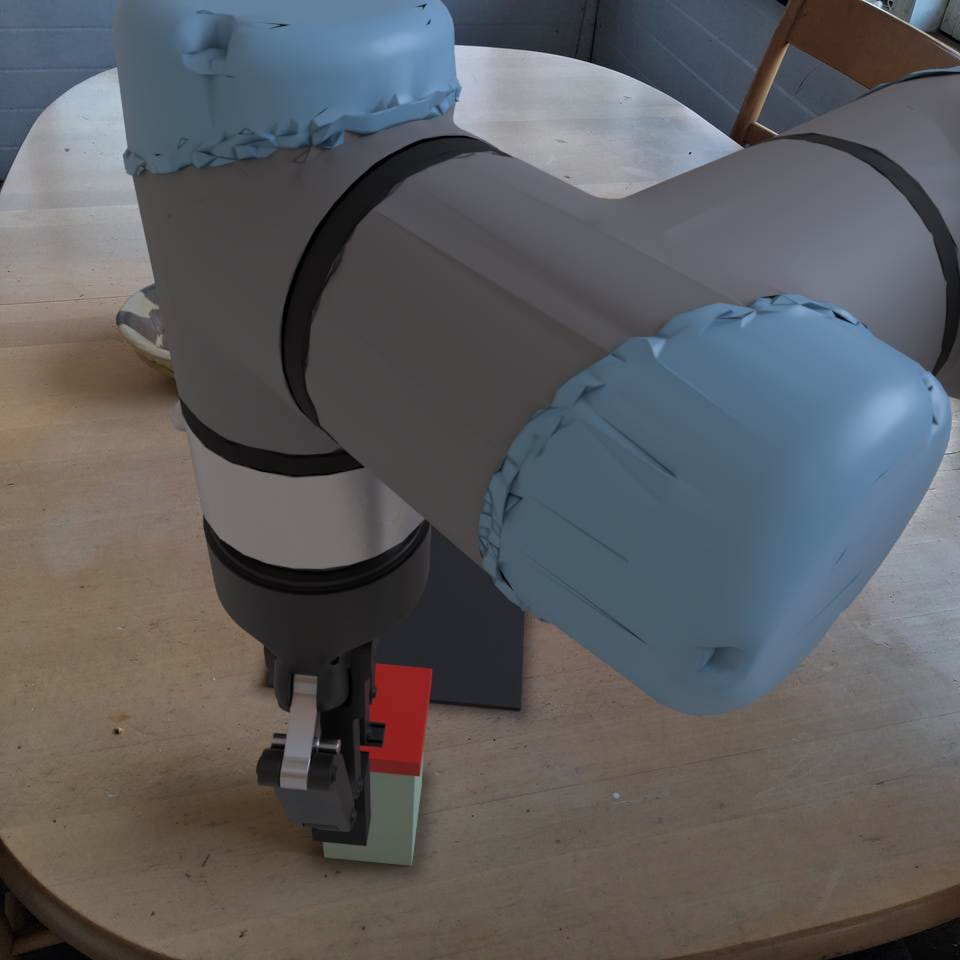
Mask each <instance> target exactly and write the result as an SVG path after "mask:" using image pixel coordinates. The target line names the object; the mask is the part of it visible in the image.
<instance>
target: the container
mask: <svg viewBox="0 0 960 960" xmlns="http://www.w3.org/2000/svg"><path fill="white" fill-rule="evenodd" d="M431 683H432V669H429V668H418V667H407V666H397V665H386V664H376V672H375V685H376V687H377V695H376V698H374V699H373V703H372V705H369V709H370V722H380V723H386V728H385V737H384V744H383V748H379V747H369V746H360V751H368V752H369V755H370V798H371V821H370V827H369V833H368V839H367V846H359V845H348V844H338V843H328V842H322V848H323V857H324V859H325V858H327V859H335V860H336V859H337V860H345V861H346V860H347V861H359V862H365V863H366V862H367V863H379V864H388V865H389V864H390V865H399V866H409V867H411V866H413V860H414V852H415V844H416V836H417V835H416V834H417V827H418V819H419V811H420V805H421V804H420V802H421V794H422V786H423V770H424V750H425V749H424V748H425V739H426V731H427V723H428V714H429V709H430V708H429V706H430V702H429V700H430V692H431Z"/></svg>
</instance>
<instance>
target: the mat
mask: <svg viewBox="0 0 960 960" xmlns="http://www.w3.org/2000/svg"><path fill="white" fill-rule="evenodd" d="M525 612H526V611H522V610H521V608H520V607H519V606H518V605H516V604H515V603H513V602H511V601H510V600H509V599H508V598H507V597H506V596H505V595H504V594H503V593H502V592H501V591H500V590H499V589H498V588H497V587H496V586H495V585H494V583H493V579H492V577H491V576H490V575H489V574H488V573H487V572H486V571H485V570H483V569H482V568H481V567H480V566H479V565H478V564H476V563H475V562H474V561H473V560H472V559H471V558H470V557H468V556H467V555H466V554H465V553H464V552H463V551H461V550H460V549H459V548H458V547H457V546H456V545H454V544H453V543H452V542H451V541H450V540H449V539H448V538H446V537H445V536H444V535H443V534H442V533H441V532H439V531H438V530H437V529H436V528H435V527H434V526H433V525H431V545H430V566H429V575H428V580H427V583H426V586H425V589H424V591H423V594H422V596H421V598H420V599H419V601H418V603H417V604H416V605H415V607H414V608H413V610H412V611H411V612H410V613H409V614H408V616H407V617H406V618H405V619H404V620H403V621H401V622H400V623H399V624H398V625H397V626H395V627H394V628H393V629H391V630H390V631H388V632H387V633H385V634H384V635H382V636H380V637H379V641H378V647H377V652H376V664H386V665H397V666H407V667H418V668H429V669H432V683H431V692H430V700H429V703H435V704H446V705H457V706H466V707H478V708H485V709H486V708H487V709H488V708H489V709H496V710H497V709H498V710H508V711H519V712H520V711H521V710H522V697H523V695H522V694H523V693H522V691H523V666H524V665H523V664H524V641H525V640H524V639H525V615H526V613H525ZM266 686H267V688H274V674H273V672H271V671H270V672H269V676H268V680H267V683H266Z"/></svg>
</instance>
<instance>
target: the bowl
mask: <svg viewBox="0 0 960 960" xmlns="http://www.w3.org/2000/svg"><path fill="white" fill-rule="evenodd" d="M115 324H116V327H117V328H118V330H119V333H120V334H121V336H122V337H123V339H125V340H126V341H127V342H128V344H129V346H130V347H132V348H133V350H134V352H135V353H136V355H137V356H138V358H139V359H140V360H141V361H143V362H144V363H145V364H146V365H148V367H150V368H152V369H153V370H154V371H157V372H158V373H160V374H162V375H164V376H167V377H170V378H172V379H175V375H174V371H173V366H172V361H171V357H170V352H169V347H168V342H167V338H166V333H165V328H164V324H163V319H162V314H161V309H160V305H159V300H158V295H157V290H156V286H155V282H153V283H152V284H149V285H147V286H145V287H143V288H141V289H139V290H138V291H136V292H135V293H134V294H132V295H131V296H130V297H128V299H126V300H125V302H124V303H123V304H122V305H121V307H120V309H119V310H118V312H117V313H116V316H115Z"/></svg>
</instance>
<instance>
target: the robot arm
mask: <svg viewBox="0 0 960 960" xmlns="http://www.w3.org/2000/svg"><path fill="white" fill-rule="evenodd" d="M454 25H455V24H454V21H453V17H452V15H451V13H450V11H449V9H448V8H447V6H446V4H444V3H443V1H442V0H120V1H119V3H118V5H117V7H116V11H115V14H114V19H113V23H112V43H113V50H114V56H115V57H114V58H115V63H116V64H115V65H116V70H117V78H118V84H119V94H120V102H121V108H122V115H123V116H122V117H123V124H124V131H125V139H126V149H125V151H124V152H123V153H122V159H123V166H124V169H125V172H126V174H127V175H129V176H131V177H132V181H133V187H134V191H135V195H136V196H135V197H136V200H137V205H138V209H139V215H140V219H141V225H142V229H143V234H144V238H145V242H146V243H145V244H146V247H147V252H148V257H149V262H150V266H151V272H152V277H153V281H154V283H155V286H156V290H157V295H158V300H159V305H160V309H161V314H162V319H163V324H164V328H165V333H166V338H167V342H168V347H169V352H170V357H171V361H172V366H173V371H174V375H175V378H174V380H175V384H176V385H175V386H176V388H177V391H176V392H177V395H178V398H179V400H177V402H176V403H175V404H174V406H173V411H172V413H171V416H170V420H171V423H172V426H173V428H174V429H175V430H177V431H180V432H183V433H186V438H187V442H188V443H187V444H188V448H189V453H190V458H191V464H192V469H193V473H194V479H195V484H196V490H197V493H198V499H199V503H200V508H201V510H202V513H203V514H202V527H203V532H204V537H205V543H206V547H207V548H206V549H207V553H208V558H209V564H210V568H211V574H212V579H213V585H214V588H215V592H216V594H217V598H218V600H219V602H220V604H221V606H222V608H223V609H224V611H225V612H226V614H227V615H228V616H229V617H230V618H231V620H232V621H233V622H234V623H235V624H236V625H237V626H238V627H239V628H241V629H242V630H243V631H245V632H246V633H247V634H249V636H251V637H253V639H255V640H256V641H257V642H259V643H260V644H262V645H263V656H264V663H265V666H266V668H267V670H269V671H270V672H273V674H274V687H273V691H274V696H275V698H276V700H277V705H278V707H279V708H280V709H281V710H282V711H284V712H287V713H289V715H288V723H287V728H286V729H287V730H286V733H281V732H273V733H271V737H270V739H269V740H270V741H269V747H267V748H264V749H263V750H262V753H261V755H260V756H259V759H258V760H257V762H256V767H255V774H256V775H257V785H258V786H260V787H269V788H272V789H273V790H274V793H275V795H276V796H277V798H278V801H279V802H280V804H281V806H282V808H283V810H284V812H285V815H286V816H287V817H288V819H289V822H290V823H291V825H292V826H293V827H303V828H310V832H311V838H312V842H317V843H323V842H328V843H338V844H348V845H359V846H367V839H368V833H369V827H370V821H371V798H370V755H369V752H368V751H360V746H369V747H379V748H383V744H384V737H385V728H386V723H380V722H370V709H369V705H372V703H373V699H374V698H376V695H377V687H376V685H375V672H376V652H377V647H378V641H379V637H380V636H382V635H384V634H385V633H387V632H388V631H390V630H391V629H393V628H394V627H395V626H397V625H398V624H399V623H400V622H401V621H403V620H404V619H405V618H406V617H407V616H408V614H409V613H410V612H411V611H412V610H413V608H414V607H415V605H416V604H417V603H418V601H419V599H420V598H421V596H422V594H423V591H424V589H425V586H426V583H427V580H428V575H429V566H430V545H431V525H433V526H434V527H435V528H436V529H437V530H438V531H439V532H441V533H442V534H443V535H444V536H445V537H446V538H448V539H449V540H450V541H451V542H452V543H453V544H454V545H456V546H457V547H458V548H459V549H460V550H461V551H463V552H464V553H465V554H466V555H467V556H468V557H470V558H471V559H472V560H473V561H474V562H475V563H476V564H478V565H479V566H480V567H481V568H482V569H483V570H485V571H486V572H487V573H488V574H489V575H490V576H491V577H492V579H493V583H494V585H495V586H496V587H497V588H498V589H499V590H500V591H501V592H502V593H503V594H504V595H505V596H506V597H507V598H508V599H509V600H510V601H511V602H513V603H515V604H516V605H518V606H519V607H520V608H521V610H522V611H525V612H528V613H529V614H531V615H532V616H533V617H534V618H536V619H537V620H538V621H540V622H543V623H546V624H549V625H550V624H551V625H552V626H553V627H555V628H557V629H558V630H559V631H561V632H563V634H565V635H567V636H568V637H569V638H570V639H572V640H573V641H575V642H576V643H577V644H578V645H580V646H581V647H583V648H584V649H586V650H587V651H588V652H590V653H591V654H592V655H594V657H596V658H598V659H599V660H600V661H602V662H603V663H605V664H606V665H607V666H609V667H610V668H611V669H613V670H614V671H615V672H617V673H618V674H620V675H621V676H622V677H623V678H625V679H626V680H628V681H629V682H630V683H631V684H633V685H634V686H635V687H637V688H638V689H640V690H641V691H642V692H643V693H645V694H646V695H647V696H648V697H650V698H651V699H653V701H655V702H656V703H659V704H660V705H662V706H665V707H666V708H669V709H670V710H673V711H675V712H678V713H681V714H686V715H689V716H698V717H699V716H700V717H702V716H704V717H705V716H720V715H725V714H728V713H731V712H734V711H736V710H737V711H738V710H740V709H743V708H745V707H748V706H749V705H751V704H753V703H755V702H757V701H759V699H761V698H763V697H764V696H766V695H767V694H768V693H770V692H771V691H772V690H773V689H775V688H776V687H777V686H779V684H781V683H782V682H783V681H784V680H786V678H787V677H788V676H789V675H790V674H791V673H792V672H793V671H794V670H795V669H797V668H798V667H799V666H800V665H801V664H802V663H803V662H804V660H806V658H807V657H808V656H809V655H810V654H811V653H812V652H813V650H815V648H816V647H817V645H818V644H819V643H820V642H821V641H822V640H823V638H824V637H825V636H826V635H827V633H828V632H829V631H830V629H831V627H832V626H833V625H834V623H836V621H837V620H838V618H839V616H840V615H841V614H842V613H843V612H844V611H845V610H848V608H849V607H850V606H851V605H852V604H853V602H854V601H855V600H856V599H857V597H858V596H859V595H860V594H861V593H862V591H863V590H864V588H865V587H866V586H867V584H868V583H869V582H870V580H871V579H872V578H873V576H874V575H875V574H876V572H877V571H878V570H879V568H880V567H881V565H882V564H883V562H884V561H885V560H886V558H887V557H888V555H889V554H890V552H891V551H892V549H893V548H894V546H896V544H897V542H898V541H899V540H900V537H901V536H902V535H903V532H904V531H905V529H906V528H907V526H908V525H909V523H910V521H911V519H912V518H913V517H914V514H915V513H916V511H917V510H918V508H919V506H920V505H921V503H922V501H923V499H924V498H925V496H926V494H927V492H928V491H929V489H930V486H931V485H932V483H933V481H934V479H935V477H936V475H937V473H938V470H939V469H940V466H941V464H942V461H943V459H944V457H945V454H946V451H947V448H948V446H949V443H950V438H951V432H952V423H953V416H952V408H951V407H952V406H951V402H950V398H952V399H956V400H959V401H960V65H956V66H953V67H948V68H930V69H924V70H923V69H922V70H919V71H918V70H917V71H913V72H911V73H909V74H906V75H905V76H902V77H901V78H898V79H896V80H894V81H892V82H884V83H880V84H877V86H875V87H872V88H871V89H869V90H867V91H866V92H864V93H863V94H861V95H860V96H858V97H856V98H855V99H853V100H851V101H850V102H848V103H847V104H844V105H842V106H840V107H838V108H835V109H833V110H830V111H828V112H826V113H823V114H822V115H819V116H817V117H815V118H812V119H811V120H808V121H806V122H803V123H802V124H801V123H800V124H799V125H797V126H794V127H792V128H790V129H788V130H786V131H783V132H781V133H779V134H776V135H774V136H772V137H771V136H770V137H768V138H765V139H763V140H761V141H757V142H755V143H752V144H750V145H748V146H746V147H744V148H741V149H740V150H737V151H734V152H732V153H729V154H727V155H724V156H722V157H719V158H717V159H715V160H712V161H709V162H707V163H704V164H702V165H699V166H697V167H695V168H692V169H690V170H688V171H685V172H682V173H680V174H678V175H675V176H673V177H671V178H668V179H666V180H663V181H661V182H658V183H656V184H654V185H651V186H649V187H646V188H644V189H642V190H639V191H637V192H634V193H632V194H630V195H627V196H625V197H622V198H606V197H599V196H597V195H596V196H595V195H593V194H590V193H589V192H587V191H585V190H582V189H581V188H578V187H576V186H574V185H572V184H571V183H569V182H567V181H565V180H563V179H561V178H558V177H556V176H554V175H552V174H550V173H549V172H547V171H545V170H542V169H540V168H538V167H536V166H534V165H532V164H530V163H529V162H527V161H524V160H523V159H521V158H518V157H515V156H512V155H511V154H509V153H507V152H504V151H502V150H500V149H499V148H498V147H497V146H495V145H494V144H492V143H490V142H489V141H487V140H485V139H483V138H481V137H479V136H477V135H476V134H473V133H471V132H469V131H467V130H464V129H463V128H460V127H459V126H458V125H457V124H456V123H455V121H454V114H455V109H456V104H457V102H459V103H460V100H459V98H460V95H461V91H462V89H463V86H462V85H461V83H460V82H459V79H458V75H457V67H456V66H457V65H456V53H455V27H454Z"/></svg>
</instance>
